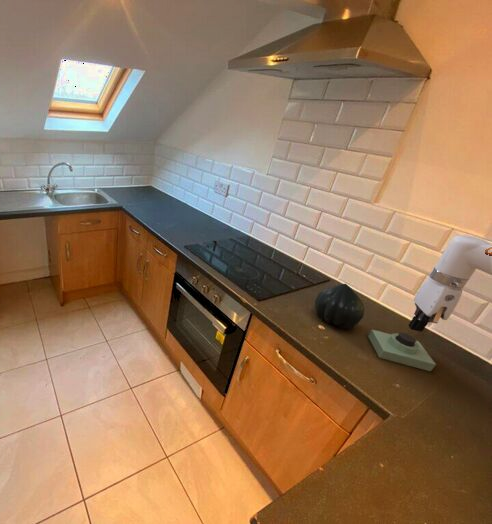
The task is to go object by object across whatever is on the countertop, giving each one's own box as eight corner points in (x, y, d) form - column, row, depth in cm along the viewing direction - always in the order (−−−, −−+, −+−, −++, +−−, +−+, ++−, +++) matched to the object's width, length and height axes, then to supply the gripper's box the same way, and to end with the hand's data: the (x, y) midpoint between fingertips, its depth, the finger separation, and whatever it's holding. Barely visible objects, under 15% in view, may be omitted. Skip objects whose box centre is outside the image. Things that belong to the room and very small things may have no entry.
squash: (348, 328, 97) (373, 291, 98) (303, 306, 108) (327, 272, 109) (350, 340, 108) (373, 306, 108) (309, 318, 118) (331, 287, 119)
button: (409, 339, 97) (412, 334, 96) (415, 348, 93) (418, 343, 93) (393, 335, 98) (396, 331, 97) (399, 344, 94) (402, 339, 94)
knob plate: (413, 347, 101) (421, 336, 99) (430, 371, 92) (439, 359, 89) (367, 336, 104) (374, 324, 102) (379, 357, 95) (386, 345, 93)
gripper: (481, 294, 77) (442, 348, 86) (448, 269, 90) (417, 318, 99) (447, 287, 79) (412, 340, 88) (419, 264, 92) (391, 312, 100)
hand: (414, 328), depth 93 cm, fingers closed
